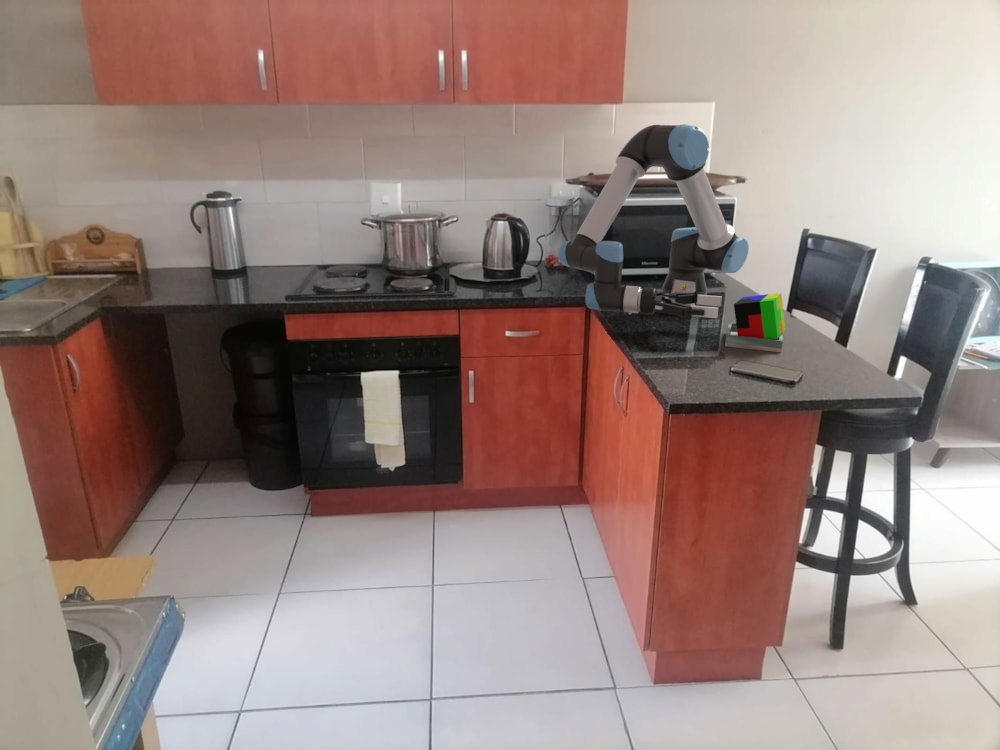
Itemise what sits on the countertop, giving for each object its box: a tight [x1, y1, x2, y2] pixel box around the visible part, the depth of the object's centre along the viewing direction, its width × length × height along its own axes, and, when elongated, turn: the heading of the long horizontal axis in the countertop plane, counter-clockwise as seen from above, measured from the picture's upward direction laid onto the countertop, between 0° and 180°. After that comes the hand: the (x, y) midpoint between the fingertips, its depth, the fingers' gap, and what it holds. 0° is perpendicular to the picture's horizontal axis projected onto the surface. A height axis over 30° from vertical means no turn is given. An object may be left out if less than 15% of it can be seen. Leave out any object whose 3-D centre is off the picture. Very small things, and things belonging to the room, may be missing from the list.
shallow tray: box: [724, 322, 784, 353], centre depth 190 cm, size 14×14×3 cm
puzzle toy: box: [733, 292, 786, 339], centre depth 188 cm, size 10×10×10 cm
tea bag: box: [671, 280, 696, 308], centre depth 219 cm, size 4×7×10 cm, turn 54°
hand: (719, 307), depth 191 cm, fingers open, 13 cm apart
